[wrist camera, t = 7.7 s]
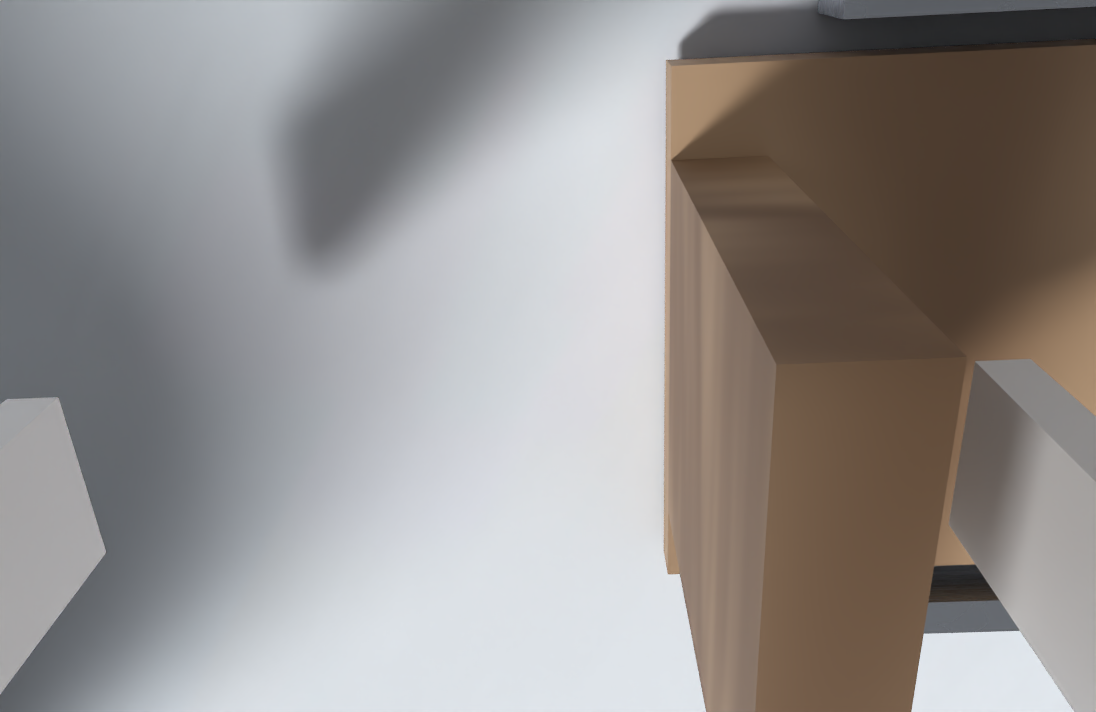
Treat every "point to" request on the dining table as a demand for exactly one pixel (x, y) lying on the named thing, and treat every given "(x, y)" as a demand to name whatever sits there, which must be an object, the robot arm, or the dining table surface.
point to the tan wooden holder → (854, 337)
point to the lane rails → (962, 588)
